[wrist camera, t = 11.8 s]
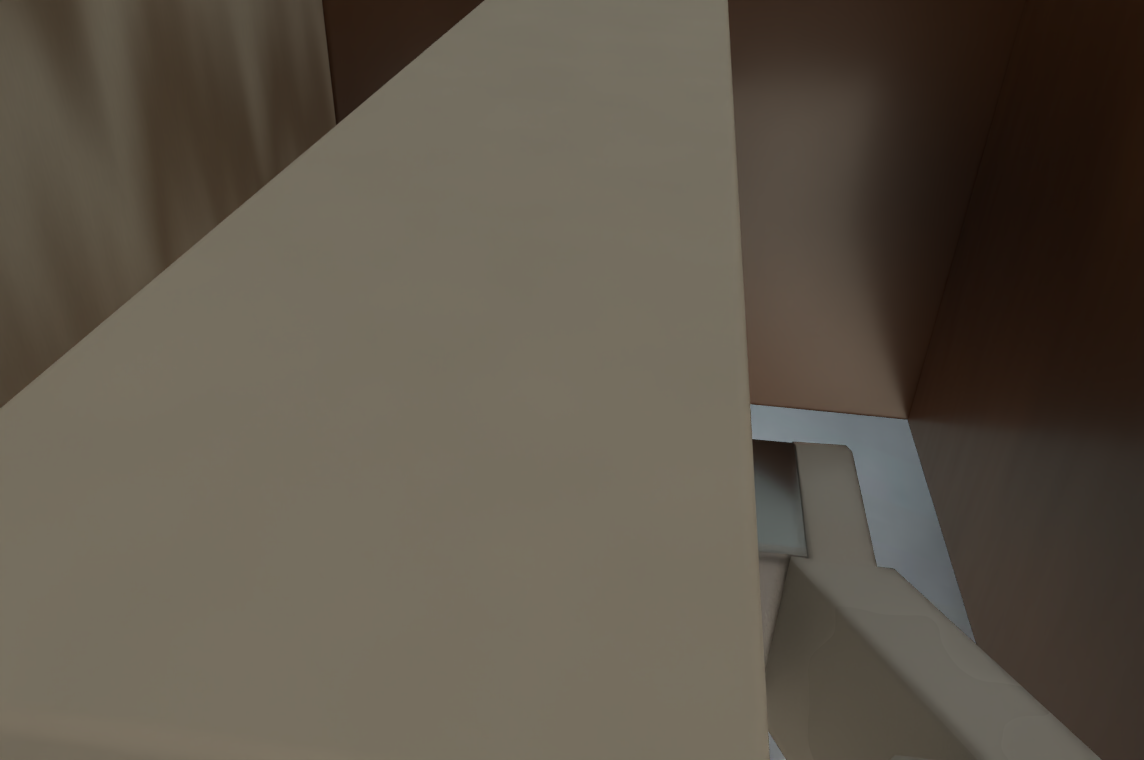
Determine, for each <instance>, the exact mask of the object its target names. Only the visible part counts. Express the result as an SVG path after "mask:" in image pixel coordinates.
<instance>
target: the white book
mask: <svg viewBox="0 0 1144 760" xmlns="http://www.w3.org/2000/svg"><path fill="white" fill-rule="evenodd" d="M0 760H770V754H769V736H768V718H767V700H766V682H765V664H764V646H763V627H762V609H761V591H760V573H759V555H758V537H757V519H756V501H755V483H754V465H753V447H752V429H751V411H750V393H749V375H748V357H747V339H746V321H745V303H744V284H743V266H742V248H741V230H740V212H739V194H738V176H737V158H736V140H735V122H734V104H733V86H732V68H731V50H730V32H729V14H728V0H484V1H483V2H482V3H481V4H480V5H478V6H477V7H476V8H475V9H474V10H472V11H471V12H470V13H469V14H468V15H467V16H465V17H464V18H463V19H462V20H461V21H459V22H458V23H457V24H456V25H455V26H453V27H452V28H451V29H450V30H449V31H448V32H446V33H445V34H444V35H443V36H442V37H440V38H439V39H438V40H437V41H436V42H435V43H433V44H432V45H431V46H430V47H429V48H427V49H426V50H425V51H424V52H423V53H421V54H420V55H419V56H418V57H417V58H416V59H414V60H413V61H412V62H411V63H410V64H408V65H407V66H406V67H405V68H404V69H402V70H401V71H400V72H399V73H398V74H397V75H395V76H394V77H393V78H392V79H391V80H389V81H388V82H387V83H386V84H385V85H383V86H382V87H381V88H380V89H379V90H378V91H376V92H375V93H374V94H373V95H372V96H370V97H369V98H368V99H367V100H366V101H364V102H363V103H362V104H361V105H360V106H359V107H357V108H356V109H355V110H354V111H353V112H351V113H350V114H349V115H348V116H347V117H346V118H344V119H343V120H342V121H341V122H340V123H338V124H337V125H336V126H335V127H334V128H332V129H331V130H330V131H329V132H328V133H327V134H325V135H324V136H323V137H322V138H321V139H319V140H318V141H317V142H316V143H315V144H313V145H312V146H311V147H310V148H309V149H308V150H306V151H305V152H304V153H303V154H302V155H300V156H299V157H298V158H297V159H296V160H294V161H293V162H292V163H291V164H290V165H289V166H287V167H286V168H285V169H284V170H283V171H281V172H280V173H279V174H278V175H277V176H275V177H274V178H273V179H272V180H271V181H270V182H268V183H267V184H266V185H265V186H264V187H262V188H261V189H260V190H259V191H258V192H257V193H255V194H254V195H253V196H252V197H251V198H249V199H248V200H247V201H246V202H245V203H243V204H242V205H241V206H240V207H239V208H238V209H236V210H235V211H234V212H233V213H232V214H230V215H229V216H228V217H227V218H226V219H224V220H223V221H222V222H221V223H220V224H219V225H217V226H216V227H215V228H214V229H213V230H211V231H210V232H209V233H208V234H207V235H205V236H204V237H203V238H202V239H201V240H200V241H198V242H197V243H196V244H195V245H194V246H192V247H191V248H190V249H189V250H188V251H187V252H185V253H184V254H183V255H182V256H181V257H179V258H178V259H177V260H176V261H175V262H173V263H172V264H171V265H170V266H169V267H168V268H166V269H165V270H164V271H163V272H162V273H160V274H159V275H158V276H157V277H156V278H154V279H153V280H152V281H151V282H150V283H149V284H147V285H146V286H145V287H144V288H143V289H141V290H140V291H139V292H138V293H137V294H135V295H134V296H133V297H132V298H131V299H130V300H128V301H127V302H126V303H125V304H124V305H122V306H121V307H120V308H119V309H118V310H116V311H115V312H114V313H113V314H112V315H111V316H109V317H108V318H107V319H106V320H105V321H103V322H102V323H101V324H100V325H99V326H97V327H96V328H95V329H94V330H93V331H92V332H90V333H89V334H88V335H87V336H86V337H84V338H83V339H82V340H81V341H80V342H79V343H77V344H76V345H75V346H74V347H73V348H71V349H70V350H69V351H68V352H67V353H65V354H64V355H63V356H62V357H61V358H60V359H58V360H57V361H56V362H55V363H54V364H52V365H51V366H50V367H49V368H48V369H46V370H45V371H44V372H43V373H42V374H41V375H39V376H38V377H37V378H36V379H35V380H33V381H32V382H31V383H30V384H29V385H27V386H26V387H25V388H24V389H23V390H22V391H20V392H19V393H18V394H17V395H16V396H14V397H13V398H12V399H11V400H10V401H8V402H7V403H6V404H5V405H4V406H3V407H1V408H0Z"/></svg>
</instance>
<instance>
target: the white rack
mask: <svg viewBox="0 0 1144 760" xmlns="http://www.w3.org/2000/svg"><path fill="white" fill-rule="evenodd" d="M483 1H484V0H0V408H1V407H3V406H4V405H5V404H6V403H7V402H8V401H10V400H11V399H12V398H13V397H14V396H16V395H17V394H18V393H19V392H20V391H22V390H23V389H24V388H25V387H26V386H27V385H29V384H30V383H31V382H32V381H33V380H35V379H36V378H37V377H38V376H39V375H41V374H42V373H43V372H44V371H45V370H46V369H48V368H49V367H50V366H51V365H52V364H54V363H55V362H56V361H57V360H58V359H60V358H61V357H62V356H63V355H64V354H65V353H67V352H68V351H69V350H70V349H71V348H73V347H74V346H75V345H76V344H77V343H79V342H80V341H81V340H82V339H83V338H84V337H86V336H87V335H88V334H89V333H90V332H92V331H93V330H94V329H95V328H96V327H97V326H99V325H100V324H101V323H102V322H103V321H105V320H106V319H107V318H108V317H109V316H111V315H112V314H113V313H114V312H115V311H116V310H118V309H119V308H120V307H121V306H122V305H124V304H125V303H126V302H127V301H128V300H130V299H131V298H132V297H133V296H134V295H135V294H137V293H138V292H139V291H140V290H141V289H143V288H144V287H145V286H146V285H147V284H149V283H150V282H151V281H152V280H153V279H154V278H156V277H157V276H158V275H159V274H160V273H162V272H163V271H164V270H165V269H166V268H168V267H169V266H170V265H171V264H172V263H173V262H175V261H176V260H177V259H178V258H179V257H181V256H182V255H183V254H184V253H185V252H187V251H188V250H189V249H190V248H191V247H192V246H194V245H195V244H196V243H197V242H198V241H200V240H201V239H202V238H203V237H204V236H205V235H207V234H208V233H209V232H210V231H211V230H213V229H214V228H215V227H216V226H217V225H219V224H220V223H221V222H222V221H223V220H224V219H226V218H227V217H228V216H229V215H230V214H232V213H233V212H234V211H235V210H236V209H238V208H239V207H240V206H241V205H242V204H243V203H245V202H246V201H247V200H248V199H249V198H251V197H252V196H253V195H254V194H255V193H257V192H258V191H259V190H260V189H261V188H262V187H264V186H265V185H266V184H267V183H268V182H270V181H271V180H272V179H273V178H274V177H275V176H277V175H278V174H279V173H280V172H281V171H283V170H284V169H285V168H286V167H287V166H289V165H290V164H291V163H292V162H293V161H294V160H296V159H297V158H298V157H299V156H300V155H302V154H303V153H304V152H305V151H306V150H308V149H309V148H310V147H311V146H312V145H313V144H315V143H316V142H317V141H318V140H319V139H321V138H322V137H323V136H324V135H325V134H327V133H328V132H329V131H330V130H331V129H332V128H334V127H335V126H336V125H337V124H338V123H340V122H341V121H342V120H343V119H344V118H346V117H347V116H348V115H349V114H350V113H351V112H353V111H354V110H355V109H356V108H357V107H359V106H360V105H361V104H362V103H363V102H364V101H366V100H367V99H368V98H369V97H370V96H372V95H373V94H374V93H375V92H376V91H378V90H379V89H380V88H381V87H382V86H383V85H385V84H386V83H387V82H388V81H389V80H391V79H392V78H393V77H394V76H395V75H397V74H398V73H399V72H400V71H401V70H402V69H404V68H405V67H406V66H407V65H408V64H410V63H411V62H412V61H413V60H414V59H416V58H417V57H418V56H419V55H420V54H421V53H423V52H424V51H425V50H426V49H427V48H429V47H430V46H431V45H432V44H433V43H435V42H436V41H437V40H438V39H439V38H440V37H442V36H443V35H444V34H445V33H446V32H448V31H449V30H450V29H451V28H452V27H453V26H455V25H456V24H457V23H458V22H459V21H461V20H462V19H463V18H464V17H465V16H467V15H468V14H469V13H470V12H471V11H472V10H474V9H475V8H476V7H477V6H478V5H480V4H481V3H482V2H483ZM728 14H729V32H730V50H731V68H732V86H733V104H734V122H735V140H736V158H737V176H738V194H739V212H740V230H741V248H742V266H743V284H744V303H745V321H746V339H747V357H748V375H749V393H750V404H754V405H764V406H775V407H785V408H795V409H805V410H815V411H825V412H836V413H846V414H856V415H866V416H876V417H886V418H897V419H907V420H908V423H909V426H910V430H911V433H912V436H913V440H914V443H915V446H916V449H917V453H918V456H919V459H920V462H921V466H922V469H923V472H924V475H925V479H926V482H927V485H928V488H929V492H930V495H931V498H932V501H933V505H934V508H935V511H936V515H937V518H938V521H939V524H940V528H941V531H942V534H943V537H944V541H945V544H946V547H947V550H948V554H949V557H950V560H951V563H952V567H953V570H954V573H955V576H956V580H957V583H958V586H959V590H960V593H961V596H962V599H963V603H964V606H965V609H966V612H967V616H968V619H969V622H970V625H971V629H972V632H973V635H974V638H975V642H976V645H978V646H979V647H980V648H981V649H982V650H983V651H984V652H985V653H986V654H987V655H988V656H990V657H991V658H992V659H993V660H994V661H995V662H996V663H997V664H998V665H999V666H1000V667H1001V668H1003V669H1004V670H1005V671H1006V672H1007V673H1008V674H1009V675H1010V676H1011V677H1012V678H1013V679H1015V680H1016V681H1017V682H1018V683H1019V684H1020V685H1021V686H1022V687H1023V688H1024V689H1025V690H1026V691H1028V692H1029V693H1030V694H1031V695H1032V696H1033V697H1034V698H1035V699H1036V700H1037V701H1038V702H1040V703H1041V704H1042V705H1043V706H1044V707H1045V708H1046V709H1047V710H1048V711H1049V712H1050V713H1051V714H1053V715H1054V716H1055V717H1056V718H1057V719H1058V720H1059V721H1060V722H1061V723H1062V724H1063V725H1065V726H1066V727H1067V728H1068V729H1069V730H1070V731H1071V732H1072V733H1073V734H1074V735H1075V736H1076V737H1078V738H1079V739H1080V740H1081V741H1082V742H1083V743H1084V744H1085V745H1086V746H1087V747H1088V748H1090V749H1091V750H1092V751H1093V752H1094V753H1095V754H1096V755H1097V756H1098V757H1099V758H1100V759H1101V760H1144V0H728Z"/></svg>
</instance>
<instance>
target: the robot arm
mask: <svg viewBox="0 0 1144 760" xmlns="http://www.w3.org/2000/svg"><path fill="white" fill-rule="evenodd" d="M752 447H753V465H754V483H755V501H756V519H757V537H758V555H759V573H760V591H761V609H762V627H763V646H764V664H765V682H766V700H767V718H768V731H769V733H770V734H771V736H772V738H773V739H774V741H775V742H776V744H777V746H778V747H779V749H780V750H781V752H782V754H783V755H784V757H785V758H786V760H1101V759H1100V758H1099V757H1098V756H1097V755H1096V754H1095V753H1094V752H1093V751H1092V750H1091V749H1090V748H1088V747H1087V746H1086V745H1085V744H1084V743H1083V742H1082V741H1081V740H1080V739H1079V738H1078V737H1076V736H1075V735H1074V734H1073V733H1072V732H1071V731H1070V730H1069V729H1068V728H1067V727H1066V726H1065V725H1063V724H1062V723H1061V722H1060V721H1059V720H1058V719H1057V718H1056V717H1055V716H1054V715H1053V714H1051V713H1050V712H1049V711H1048V710H1047V709H1046V708H1045V707H1044V706H1043V705H1042V704H1041V703H1040V702H1038V701H1037V700H1036V699H1035V698H1034V697H1033V696H1032V695H1031V694H1030V693H1029V692H1028V691H1026V690H1025V689H1024V688H1023V687H1022V686H1021V685H1020V684H1019V683H1018V682H1017V681H1016V680H1015V679H1013V678H1012V677H1011V676H1010V675H1009V674H1008V673H1007V672H1006V671H1005V670H1004V669H1003V668H1001V667H1000V666H999V665H998V664H997V663H996V662H995V661H994V660H993V659H992V658H991V657H990V656H988V655H987V654H986V653H985V652H984V651H983V650H982V649H981V648H980V647H979V646H978V645H976V644H975V643H974V642H973V641H972V640H971V639H970V638H969V637H968V636H967V635H966V634H965V633H963V632H962V631H961V630H960V629H959V628H958V627H957V626H956V625H955V624H954V623H953V622H951V621H950V620H949V619H948V618H947V617H946V616H945V615H944V614H943V613H942V612H941V611H940V610H938V609H937V608H936V607H935V606H934V605H933V604H932V603H931V602H930V601H929V600H928V599H926V598H925V597H924V596H923V595H922V594H921V593H920V592H919V591H918V590H917V589H916V588H915V587H913V586H912V585H911V584H910V583H909V582H908V581H907V580H906V579H905V578H904V577H903V576H901V575H900V574H899V573H898V572H897V571H896V570H895V569H893V568H885V567H877V564H876V560H875V555H874V551H873V546H872V541H871V537H870V532H869V527H868V523H867V518H866V514H865V509H864V504H863V500H862V495H861V490H860V486H859V481H858V477H857V472H856V467H855V463H854V458H853V454H852V451H851V450H850V449H849V448H848V447H847V446H846V445H833V444H819V443H805V442H792V443H787V442H776V441H765V440H754V439H752Z"/></svg>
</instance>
